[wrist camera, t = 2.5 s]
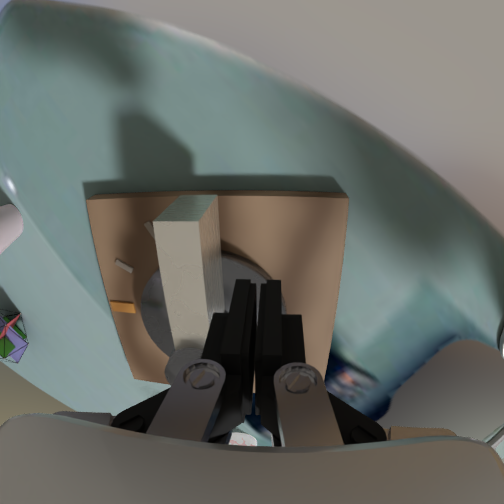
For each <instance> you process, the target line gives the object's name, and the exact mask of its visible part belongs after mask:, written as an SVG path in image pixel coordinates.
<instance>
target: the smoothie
mask: <svg viewBox="0 0 504 504" xmlns="http://www.w3.org/2000/svg"><path fill="white" fill-rule="evenodd" d="M22 231H23V220H22V216H21V214H20V212H19V210H18V209H17V208H16V207H15V206H14V205H12V204H6V205H3V206H0V254H1V253H2V252H3V251H4V250H5V249H6V248H7V247H8V246H9V245H10V244H11V243H12V242H13V241H14V240H16V239H17V238H18V237H19V236H20V235H21V234H22Z"/></svg>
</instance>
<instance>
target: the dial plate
mask: <svg viewBox="0 0 504 504" xmlns="http://www.w3.org/2000/svg"><path fill="white" fill-rule="evenodd" d="M180 195H218V213H219V230H220V246H221V250H223V251H228V252H231V253H234V254H237V255H240V256H242V257H244V258H247V259H249V260H250V261H252V262H254V263H255V264H257V265H258V266H259V267H261V268H262V269H263V270H264V271H266V272H267V273H268V274H269V275H270V276H271V278H272V279H273V280H281V293H282V295H283V297H284V300H285V304H286V309H287V314H301V315H302V323H303V334H304V345H305V357H306V364H309V365H311V366H313V367H315V368H316V369H317V370H318V371H319V372H320V374H321V375H322V378H323V381H324V377H325V372H326V367H327V362H328V357H329V351H330V345H331V340H332V334H333V328H334V321H335V315H336V309H337V302H338V295H339V288H340V280H341V272H342V264H343V256H344V247H345V238H346V228H347V217H348V206H349V198H348V196H347V195H346V193H336V192H310V191H264V190H208V191H163V192H137V193H117V194H100V195H94V196H92V197H91V198H89V199H87V200H86V203H87V208H88V214H89V219H90V225H91V230H92V235H93V239H94V244H95V249H96V253H97V258H98V262H99V266H100V270H101V274H102V278H103V282H104V286H105V290H106V293H107V297H108V301H109V304H110V308H111V311H112V314H113V318H114V321H115V324H116V328H117V331H118V334H119V337H120V340H121V343H122V346H123V349H124V352H125V355H126V358H127V361H128V363H129V366H130V369H131V372H132V374H133V377H134V379H138V380H144V381H150V382H157V383H163V384H169V383H168V381H167V379H166V377H165V367H166V365H167V362H168V360H169V358H170V357H168V356H167V355H166V354H165V353H163V352H162V351H161V350H160V349H159V348H158V347H157V345H156V344H155V343H154V342H153V340H152V339H151V338H150V336H149V334H148V333H147V331H146V328H145V326H144V323H143V320H142V316H141V297H142V294H143V290H144V288H145V286H146V284H147V282H148V281H149V279H150V278H151V277H152V275H153V274H154V272H155V271H156V270H157V269H158V267H159V261H158V255H157V248H156V241H155V234H154V227H153V221H154V220H155V219H156V218H157V217H158V216H159V215H160V214H161V213H162V212H163V211H164V210H165V209H166V208H167V207H168V206H169V205H171V204H172V203H173V202H174V201H175V200H176V199H177V198H178V197H179V196H180ZM253 393H255V374H254V385H253Z"/></svg>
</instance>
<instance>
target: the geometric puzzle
mask: <svg viewBox="0 0 504 504" xmlns="http://www.w3.org/2000/svg"><path fill="white" fill-rule="evenodd" d="M1 310H2V309H1ZM6 311H7V310H6ZM11 312H12V311H11ZM16 313H17V312H16ZM1 314H2V313H1ZM20 314H21V313H19V315H17V314H14V315H17V316H16V317H15V318H13V319H12V320H11V321H10V320H9V319H8V318H7V316H5V315H4V316H5V317H3V318H2V317H1V316H0V355H1V356H2V357H3V358H0V359H5V358H6V356H7V355H8V354H9V355H8V356H11V357H12V358H13V359H14V360H15V361H16V362H17V364H18V362H19V360H20V359H21V357H22V355H23V353H24V351H25V350H26V348H27V346H28V345H29V343H27V342H26V341H25V340H26V339H25V338H27V336H26V335H25V334H23V333H22V332H21V331H20V330H19V329H18V328H17V327H16V326H15V323H16V321H17V319H18V317H19V316H20ZM9 316H12V315H9ZM21 318H22V316H21ZM22 322H23V320H22ZM23 326H24V325H23ZM24 330H25V328H24ZM25 333H26V332H25ZM24 339H25V340H24ZM27 341H28V340H27ZM8 356H7V357H8ZM6 360H7V359H6ZM1 361H2V360H1ZM9 361H10V360H9ZM7 362H8V361H7ZM12 362H13V361H12ZM16 362H15V363H16ZM13 363H14V362H13Z"/></svg>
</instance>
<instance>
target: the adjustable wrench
mask: <svg viewBox="0 0 504 504" xmlns="http://www.w3.org/2000/svg"><path fill="white" fill-rule="evenodd" d="M503 440H504V429H503V430H502V431H501V432H499V433H498V434H497V435H496V436H495V437H494V438H493V439H492V440H491V441H490V442H488V443H487V444H489V445H490V446H491V447H492V448H493V449H494V450H495V449H496V447H497V446H498V445H499V444H500V443H501V442H502V441H503Z"/></svg>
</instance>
